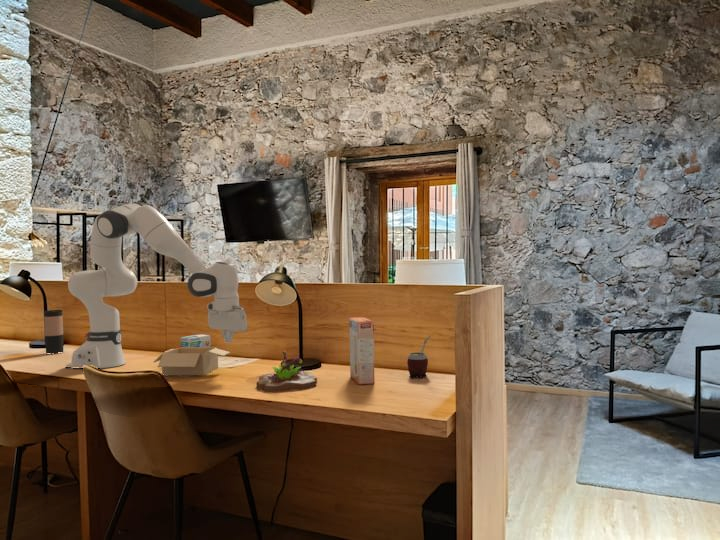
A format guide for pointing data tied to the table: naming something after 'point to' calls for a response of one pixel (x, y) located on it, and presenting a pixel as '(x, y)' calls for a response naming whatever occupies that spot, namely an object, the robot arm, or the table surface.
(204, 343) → the light bulb box
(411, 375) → the mate gourd
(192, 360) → the flap
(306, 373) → the plant
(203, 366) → the carton
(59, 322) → the travel mug
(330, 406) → the table surface
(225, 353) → the flap
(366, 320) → the cracker box
